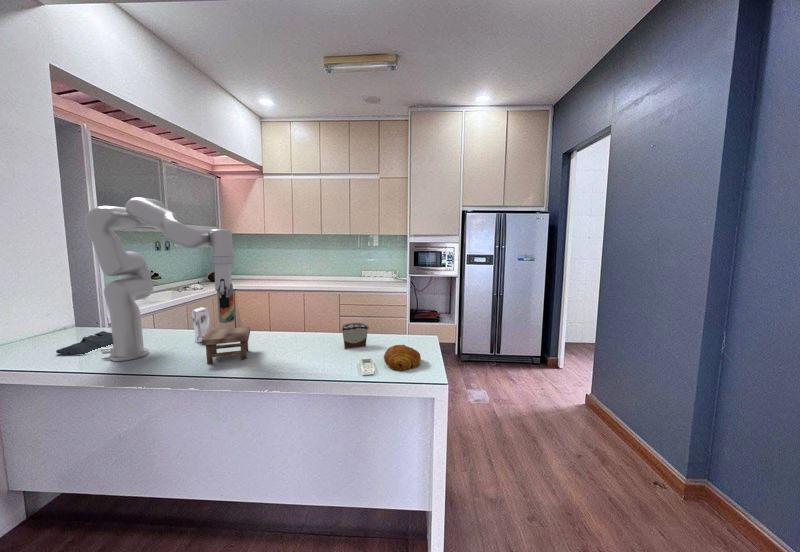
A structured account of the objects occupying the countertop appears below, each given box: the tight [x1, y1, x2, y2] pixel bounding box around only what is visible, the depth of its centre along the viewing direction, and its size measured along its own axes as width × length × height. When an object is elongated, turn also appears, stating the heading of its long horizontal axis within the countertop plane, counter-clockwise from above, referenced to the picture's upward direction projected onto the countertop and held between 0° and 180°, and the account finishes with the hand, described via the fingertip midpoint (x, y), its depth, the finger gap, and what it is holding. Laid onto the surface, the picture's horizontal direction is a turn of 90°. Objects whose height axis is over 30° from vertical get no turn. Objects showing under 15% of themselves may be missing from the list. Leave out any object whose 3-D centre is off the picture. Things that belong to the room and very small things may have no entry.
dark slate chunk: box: [56, 330, 113, 355], centre depth 148 cm, size 15×22×5 cm
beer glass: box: [191, 307, 210, 344], centre depth 156 cm, size 7×7×15 cm
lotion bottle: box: [216, 282, 236, 324], centre depth 134 cm, size 6×6×20 cm
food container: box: [340, 322, 370, 350], centre depth 151 cm, size 12×6×10 cm, turn 108°
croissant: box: [383, 344, 422, 371], centre depth 131 cm, size 14×16×8 cm
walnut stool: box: [201, 326, 251, 365], centre depth 136 cm, size 16×14×10 cm
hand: (225, 305), depth 134 cm, fingers closed on lotion bottle, 5 cm apart
